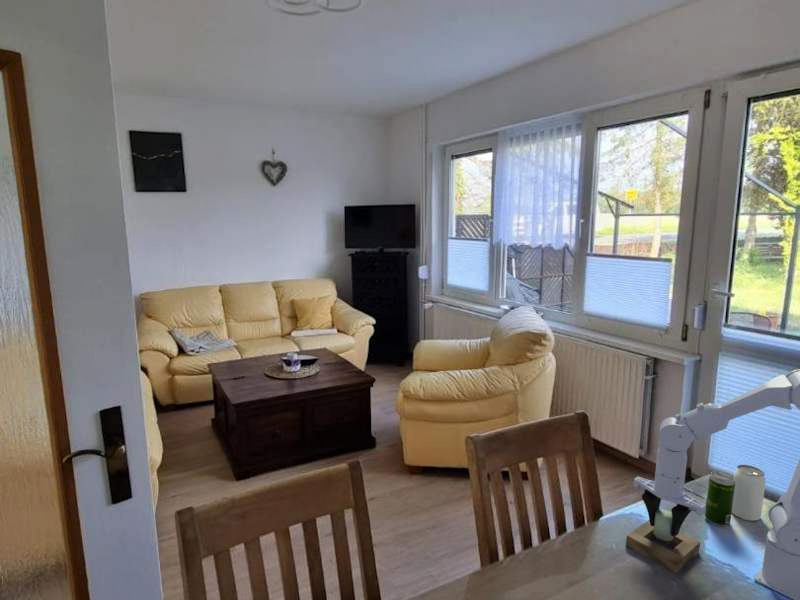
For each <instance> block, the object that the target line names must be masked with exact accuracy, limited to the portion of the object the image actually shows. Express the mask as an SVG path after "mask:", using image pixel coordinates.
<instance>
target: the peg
mask: <svg viewBox="0 0 800 600" xmlns="http://www.w3.org/2000/svg"><path fill="white" fill-rule="evenodd" d="M671 528H672V511H669V510H666V509H660V508H659V510H656V513H655V522H654V532H653V533H654V535H655V536H656V537H658V538H659V539H658V538H657V539H658V540H660V539H662V540H665V541H671V540H673V538H674V537H673V536H671ZM656 537H655V538H656ZM662 540H661V541H662Z"/></svg>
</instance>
